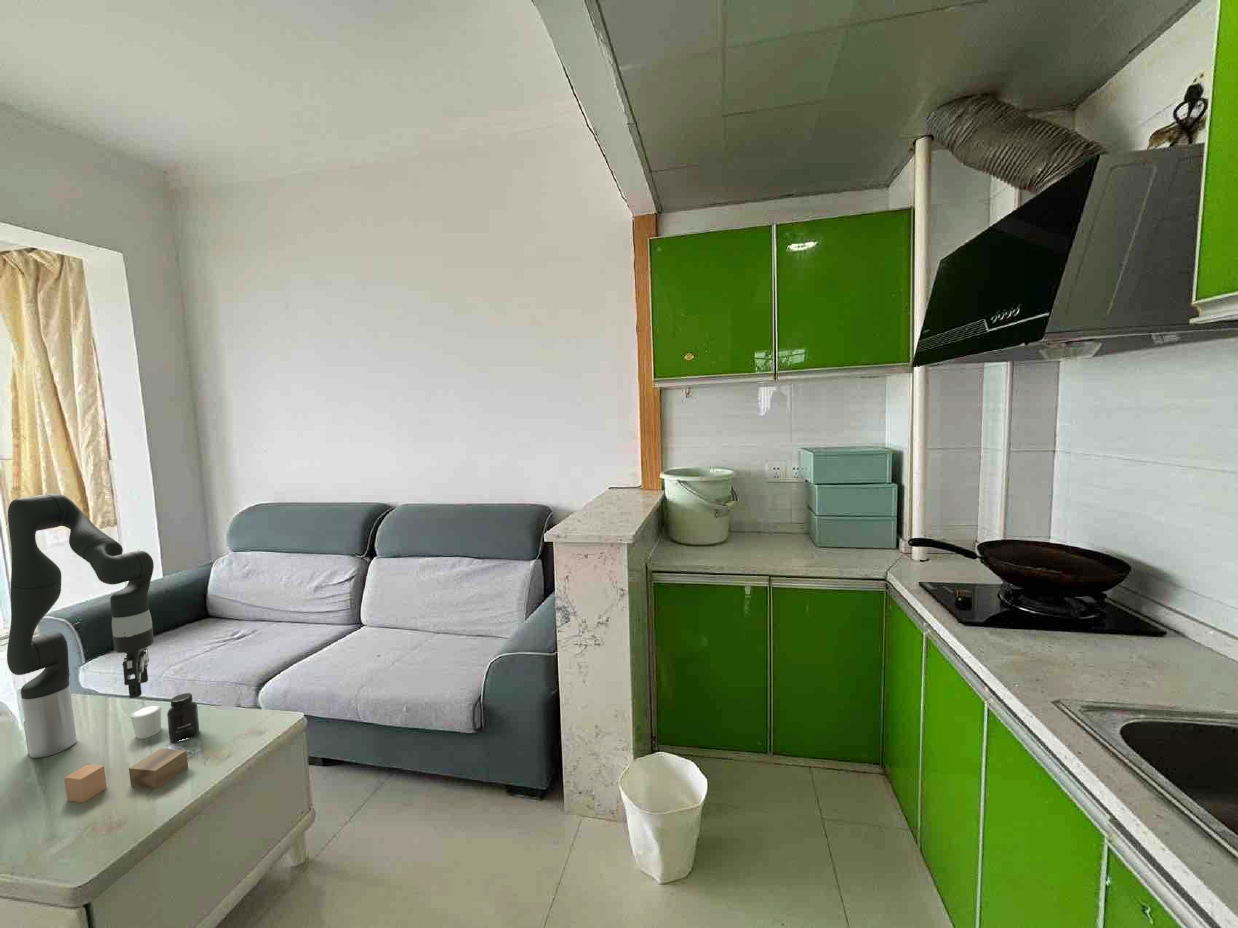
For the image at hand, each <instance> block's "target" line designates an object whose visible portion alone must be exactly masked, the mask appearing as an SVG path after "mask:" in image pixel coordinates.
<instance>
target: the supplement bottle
mask: <svg viewBox="0 0 1238 928" xmlns="http://www.w3.org/2000/svg"><path fill="white" fill-rule="evenodd" d="M166 716H167V726H168V737H169V741H170V742H172V743H178V742H177V741H179V740H182V739H186V738H190V739H192V738H194V737H195V736H197V735H198V734H199V732H200V722H199V710H198V704H197V702H195V701H193V694H192V693H190V692H184V693H181V694H178V695H176V696H174V697H172V698H171V699H170V708H169V709H168V711H167V713H166ZM191 737H192V738H191Z"/></svg>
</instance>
